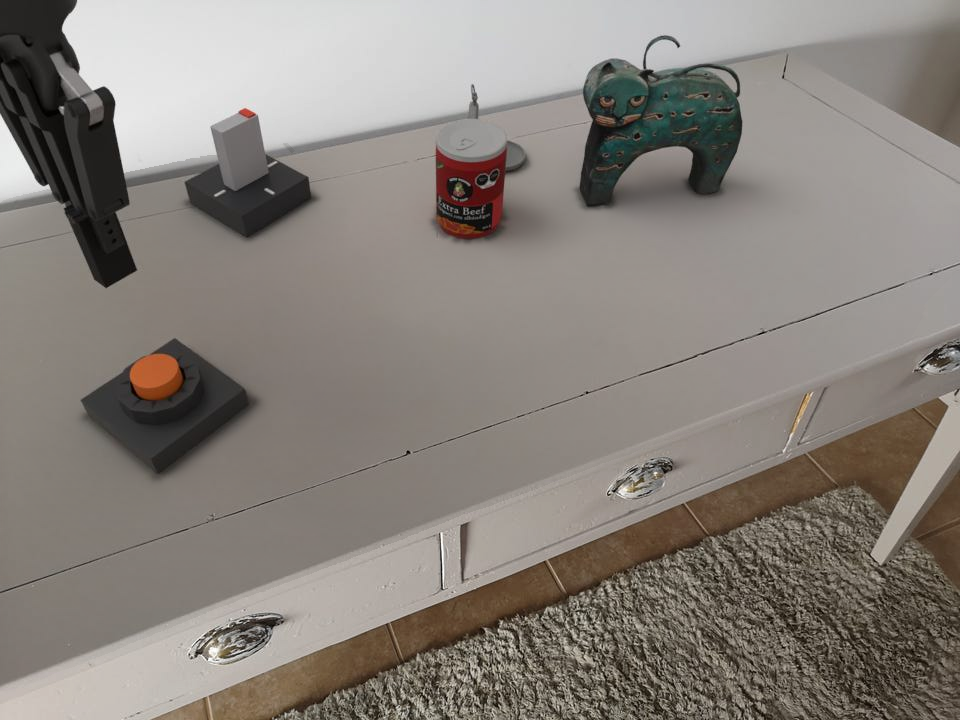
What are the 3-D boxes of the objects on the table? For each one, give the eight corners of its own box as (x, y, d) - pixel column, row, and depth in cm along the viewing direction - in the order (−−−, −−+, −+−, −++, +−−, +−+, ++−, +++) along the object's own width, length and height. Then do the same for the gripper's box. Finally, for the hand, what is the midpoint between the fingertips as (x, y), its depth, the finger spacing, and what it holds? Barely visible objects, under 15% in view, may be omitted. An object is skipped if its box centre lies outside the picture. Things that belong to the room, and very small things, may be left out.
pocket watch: (534, 165, 100) (542, 92, 93) (479, 183, 97) (482, 110, 89) (500, 135, 105) (504, 64, 97) (446, 151, 101) (446, 79, 94)
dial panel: (190, 203, 92) (183, 180, 89) (255, 167, 97) (251, 145, 95) (246, 237, 88) (241, 214, 85) (311, 198, 93) (308, 175, 91)
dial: (235, 191, 89) (221, 130, 83) (223, 184, 89) (209, 124, 84) (269, 172, 91) (257, 112, 86) (257, 166, 92) (245, 106, 86)
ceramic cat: (575, 213, 93) (600, 51, 79) (561, 182, 98) (582, 23, 83) (729, 199, 96) (780, 41, 82) (708, 170, 101) (754, 14, 86)
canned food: (426, 231, 90) (424, 148, 82) (450, 194, 95) (451, 111, 87) (489, 247, 88) (494, 163, 80) (509, 208, 93) (516, 125, 85)
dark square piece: (88, 415, 70) (72, 386, 67) (180, 353, 75) (169, 324, 72) (157, 474, 66) (144, 445, 63) (249, 404, 71) (241, 375, 68)
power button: (125, 385, 68) (119, 372, 66) (164, 360, 70) (158, 346, 69) (154, 408, 66) (148, 395, 65) (192, 381, 68) (187, 368, 67)
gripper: (115, -49, 41) (212, 286, 58) (-17, -106, 46) (108, 218, 63) (-23, -7, 37) (125, 341, 54) (-151, -74, 42) (21, 263, 59)
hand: (115, 274), depth 59 cm, fingers closed
